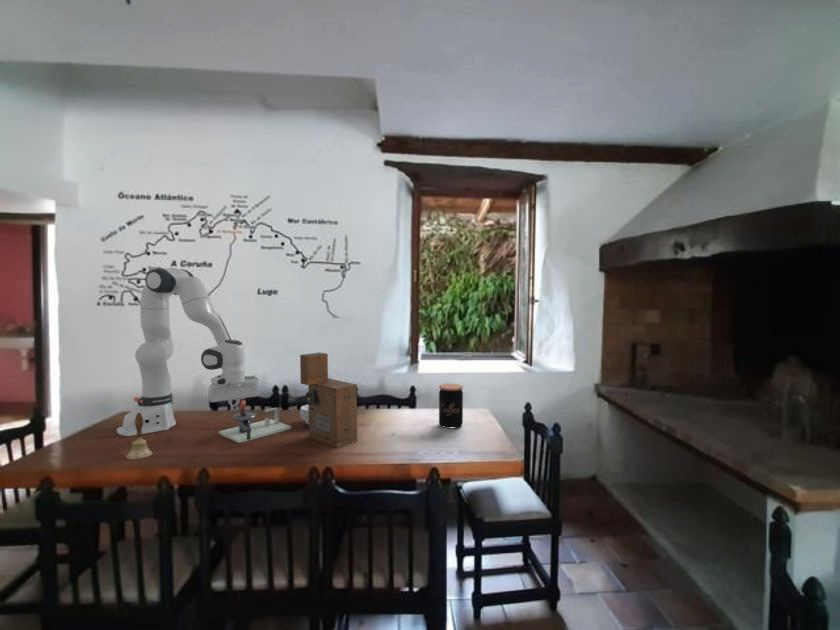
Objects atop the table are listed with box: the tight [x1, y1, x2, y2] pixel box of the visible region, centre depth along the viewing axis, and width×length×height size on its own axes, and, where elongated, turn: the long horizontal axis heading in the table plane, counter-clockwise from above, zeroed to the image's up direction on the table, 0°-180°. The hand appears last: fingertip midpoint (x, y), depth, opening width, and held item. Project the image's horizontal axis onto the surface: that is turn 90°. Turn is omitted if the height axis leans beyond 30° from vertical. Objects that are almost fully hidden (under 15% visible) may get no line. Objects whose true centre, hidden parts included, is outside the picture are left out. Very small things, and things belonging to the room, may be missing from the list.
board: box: [218, 410, 292, 444], centre depth 196 cm, size 24×17×10 cm
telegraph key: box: [232, 398, 257, 441], centre depth 189 cm, size 22×9×12 cm, turn 28°
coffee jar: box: [438, 383, 464, 428], centre depth 205 cm, size 11×11×18 cm
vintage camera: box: [299, 352, 358, 449], centre depth 184 cm, size 19×14×35 cm
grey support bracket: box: [264, 406, 281, 426], centre depth 202 cm, size 6×2×7 cm, turn 139°
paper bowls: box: [299, 404, 309, 426], centre depth 208 cm, size 15×15×8 cm
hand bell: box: [126, 413, 153, 461], centre depth 167 cm, size 8×8×16 cm
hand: (234, 409), depth 196 cm, fingers closed
